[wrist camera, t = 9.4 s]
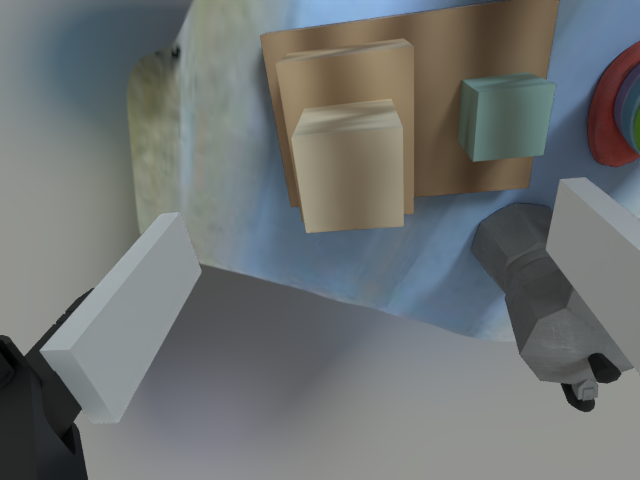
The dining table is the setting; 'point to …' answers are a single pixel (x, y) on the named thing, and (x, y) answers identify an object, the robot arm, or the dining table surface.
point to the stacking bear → (617, 112)
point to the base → (429, 89)
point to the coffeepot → (546, 305)
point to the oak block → (350, 166)
